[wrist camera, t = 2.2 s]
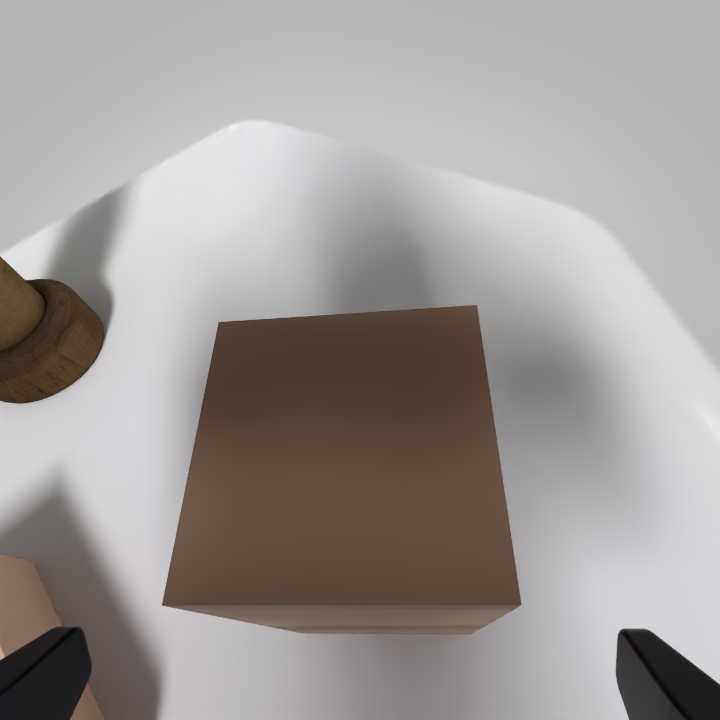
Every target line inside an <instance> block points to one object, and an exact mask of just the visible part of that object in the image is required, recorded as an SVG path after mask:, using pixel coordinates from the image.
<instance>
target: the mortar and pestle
mask: <svg viewBox="0 0 720 720" xmlns="http://www.w3.org/2000/svg"><path fill="white" fill-rule="evenodd" d="M102 341H103V327H102V323H101V321H100V319H99V317H98V316H97V315H96V313H95V312H94V311H93V310H92V309H91V308H90V307H89V306H88V305H87V304H86V303H85V302H84V301H83V300H82V299H81V298H80V297H79V296H78V295H77V294H76V293H75V292H74V291H73V290H72V289H71V288H70V287H68V286H67V285H65V284H63V283H61V282H59V281H55V280H50V279H36V280H25V279H23V278H22V277H21V276H20V275H19V274H18V273H17V272H16V271H15V270H14V269H13V268H12V267H11V266H10V265H9V264H8V263H7V262H5V261H4V260H3V259H2V258H1V257H0V401H3V402H9V403H29V402H34V401H39V400H42V399H44V398H47V397H50V396H52V395H54V394H56V393H58V392H60V391H61V390H63V389H65V388H66V387H68V386H69V385H71V384H72V383H73V382H75V381H76V380H77V379H78V378H79V377H80V376H81V375H82V374H83V373H84V372H85V371H86V370H87V369H88V368H89V366H90V365H91V364H92V363H93V361H94V360H95V358H96V356H97V354H98V352H99V350H100V348H101V345H102Z"/></svg>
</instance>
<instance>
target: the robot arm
mask: <svg viewBox="0 0 720 720" xmlns="http://www.w3.org/2000/svg"><path fill="white" fill-rule="evenodd" d="M91 671H92V661H91V657H90V653H89V649H88V645H87V641H86V637H85V633H84V631H83V629H82V628H81V627H79V626H57V627H54V628H52V629H50V630H49V631H47V632H46V633H44V634H42V635H41V636H39V637H37V638H36V639H34V640H32V641H31V642H29V643H27V644H26V645H24V646H22V647H21V648H19V649H18V650H16V651H14V652H13V653H11V654H9V655H8V656H6V657H4V658H3V659H1V660H0V720H70V719H71V717H72V715H73V713H74V711H75V709H76V706H77V704H78V702H79V700H80V698H81V696H82V694H83V692H84V690H85V688H86V685H87V683H88V681H89V679H90V675H91ZM616 678H617V684H618V688H619V691H620V694H621V697H622V700H623V702H624V705H625V708H626V711H627V714H628V717H629V720H720V684H719V683H717V682H716V681H715V680H713V679H712V678H711V677H710V676H708V675H707V674H706V673H704V672H703V671H702V670H701V669H699V668H698V667H697V666H695V665H694V664H693V663H691V662H690V661H689V660H688V659H686V658H685V657H684V656H682V655H681V654H680V653H679V652H677V651H676V650H675V649H673V648H672V647H671V646H670V645H668V644H667V643H666V642H664V641H663V640H662V639H660V638H659V637H658V636H657V635H655V634H654V633H653V632H651V631H649V630H647V629H622V630H620V631H619V634H618V640H617V658H616Z"/></svg>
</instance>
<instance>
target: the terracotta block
mask: <svg viewBox="0 0 720 720" xmlns="http://www.w3.org/2000/svg"><path fill="white" fill-rule="evenodd" d="M57 626H62V623H61V621H60V619H59V617H58V615H57V613H56V610H55V608H54V606H53V604H52V602H51V599H50V597H49V595H48V593H47V591H46V588H45V586H44V584H43V582H42V580H41V577H40V575H39V573H38V571H37V569H36V567H35V564H34V562H33V561H29V560H25V559H21V558H17V557H12V556H8V555H4V554H0V660H1V659H3V658H4V657H6V656H8V655H9V654H11V653H13V652H14V651H16V650H18V649H19V648H21V647H22V646H24V645H26V644H27V643H29V642H31V641H32V640H34V639H36V638H37V637H39V636H41V635H42V634H44V633H46V632H47V631H49V630H50V629H52V628H54V627H57ZM70 720H105V718H104V715H103V713H102V711H101V709H100V707H99V705H98V702H97V700H96V698H95V696H94V694H93V691H92V689H91V687H90V685H89V683H87V685H86V688H85V690H84V692H83V694H82V696H81V698H80V700H79V702H78V704H77V706H76V709H75V711H74V713H73V715H72V717H71V719H70Z"/></svg>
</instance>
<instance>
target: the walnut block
mask: <svg viewBox="0 0 720 720" xmlns="http://www.w3.org/2000/svg"><path fill="white" fill-rule="evenodd" d="M162 606H167V607H173V608H178V609H183V610H188V611H193V612H198V613H203V614H208V615H213V616H218V617H223V618H228V619H233V620H238V621H243V622H249V623H254V624H259V625H264V626H269V627H274V628H279V629H284V630H289V631H294V632H299V633H349V634H472V633H474V632H475V631H477V630H479V629H481V628H482V627H484V626H486V625H488V624H489V623H491V622H493V621H495V620H496V619H498V618H500V617H501V616H503V615H505V614H507V613H508V612H510V611H512V610H514V609H515V608H517V607H519V606H521V600H520V593H519V586H518V580H517V573H516V566H515V559H514V553H513V546H512V539H511V532H510V526H509V519H508V512H507V505H506V499H505V492H504V485H503V478H502V472H501V465H500V458H499V452H498V445H497V438H496V431H495V425H494V418H493V411H492V404H491V398H490V391H489V384H488V377H487V371H486V364H485V357H484V350H483V344H482V337H481V330H480V324H479V317H478V310H477V305H472V306H457V307H442V308H427V309H412V310H397V311H382V312H367V313H352V314H336V315H321V316H306V317H291V318H276V319H261V320H246V321H231V322H219V324H218V329H217V334H216V339H215V344H214V349H213V354H212V359H211V364H210V369H209V374H208V379H207V384H206V389H205V394H204V399H203V404H202V409H201V414H200V419H199V424H198V429H197V434H196V438H195V443H194V448H193V453H192V458H191V463H190V468H189V473H188V478H187V483H186V488H185V493H184V498H183V503H182V508H181V513H180V518H179V523H178V528H177V533H176V538H175V543H174V548H173V553H172V558H171V563H170V568H169V573H168V578H167V583H166V588H165V593H164V598H163V603H162Z"/></svg>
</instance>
